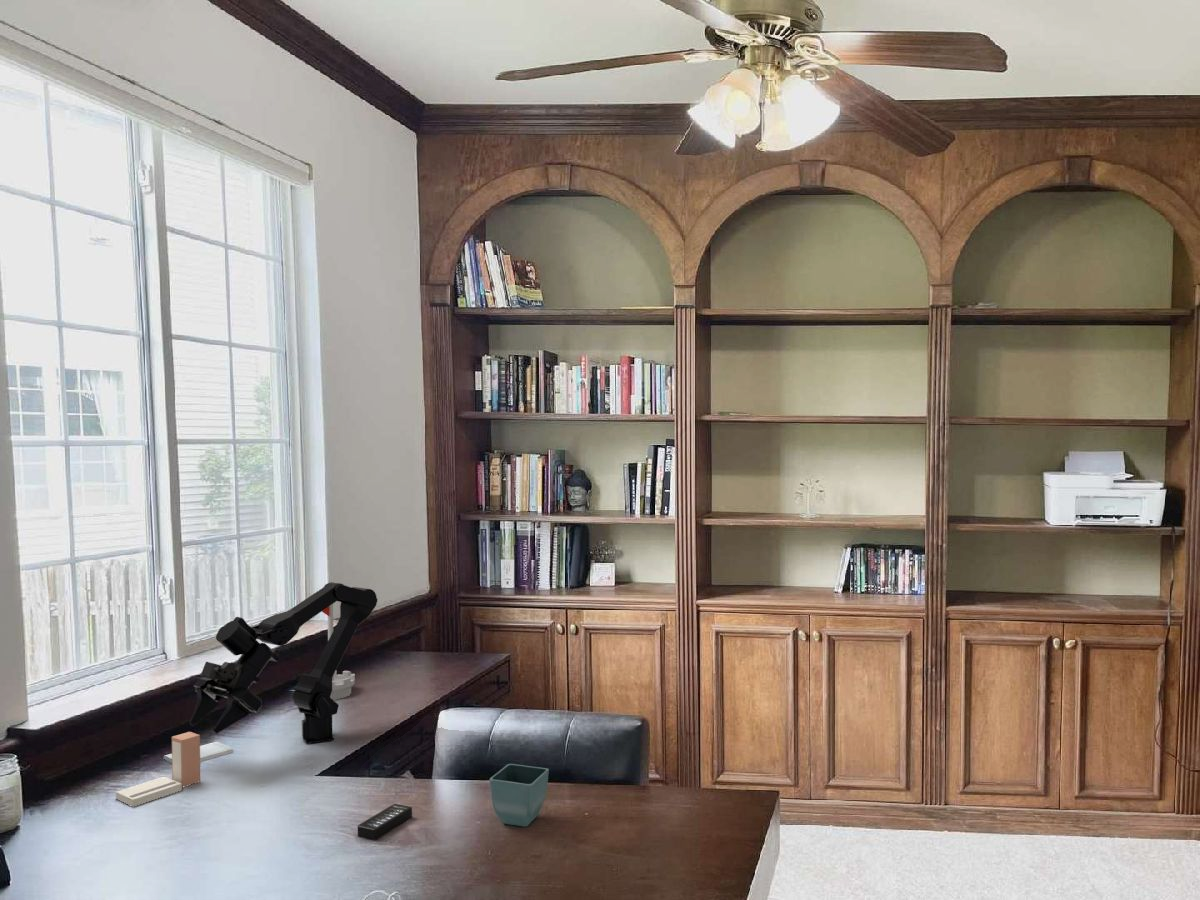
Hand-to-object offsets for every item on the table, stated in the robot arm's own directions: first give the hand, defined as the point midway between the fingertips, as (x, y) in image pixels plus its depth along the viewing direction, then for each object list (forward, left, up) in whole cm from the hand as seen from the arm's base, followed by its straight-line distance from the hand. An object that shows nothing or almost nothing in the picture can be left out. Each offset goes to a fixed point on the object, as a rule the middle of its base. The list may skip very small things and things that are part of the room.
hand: (202, 728), depth 192 cm
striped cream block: (+10, +6, -10) cm, 16 cm away
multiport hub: (-31, +42, -11) cm, 54 cm away
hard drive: (+1, -15, -11) cm, 19 cm away
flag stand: (-34, -53, -11) cm, 64 cm away
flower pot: (-55, +51, -11) cm, 76 cm away
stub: (+3, +2, -10) cm, 11 cm away
